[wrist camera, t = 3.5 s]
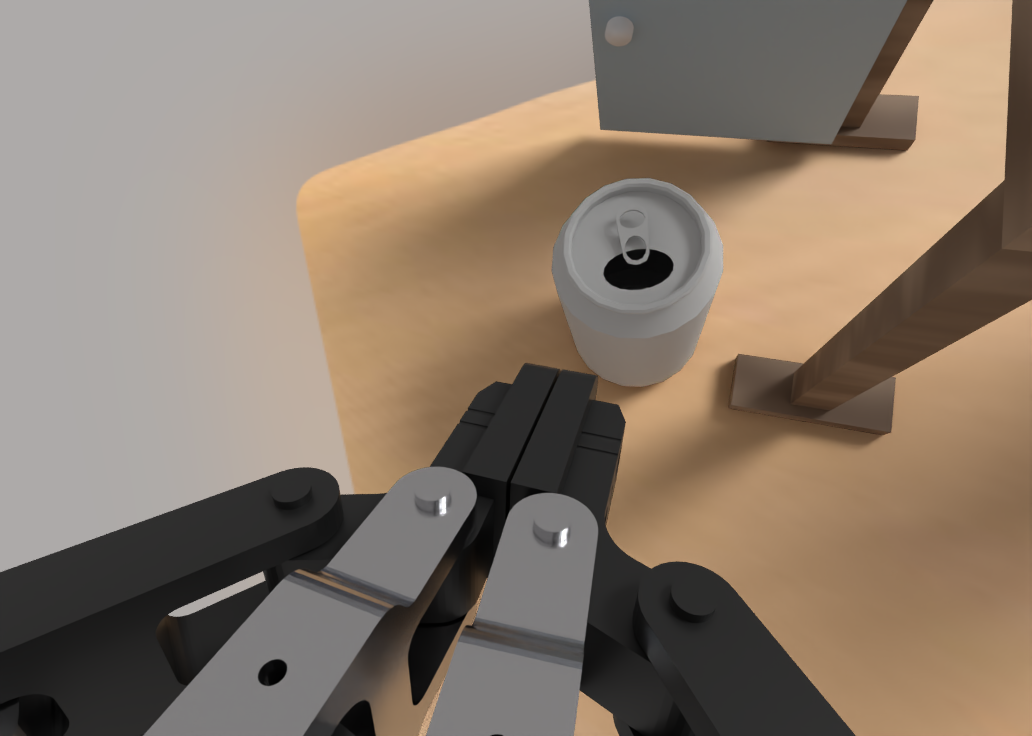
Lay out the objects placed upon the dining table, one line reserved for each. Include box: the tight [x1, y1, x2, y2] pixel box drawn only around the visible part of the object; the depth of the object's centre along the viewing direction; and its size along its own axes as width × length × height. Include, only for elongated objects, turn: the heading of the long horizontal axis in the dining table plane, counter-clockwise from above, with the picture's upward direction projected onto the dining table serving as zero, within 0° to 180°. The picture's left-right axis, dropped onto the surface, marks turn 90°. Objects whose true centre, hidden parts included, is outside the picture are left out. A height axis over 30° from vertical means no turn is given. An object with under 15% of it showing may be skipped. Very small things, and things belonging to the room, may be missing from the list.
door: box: [589, 0, 907, 144], centre depth 28 cm, size 14×2×18 cm, turn 77°
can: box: [552, 178, 723, 387], centre depth 29 cm, size 8×8×12 cm
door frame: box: [729, 0, 1032, 435], centre depth 24 cm, size 21×8×22 cm, turn 167°
